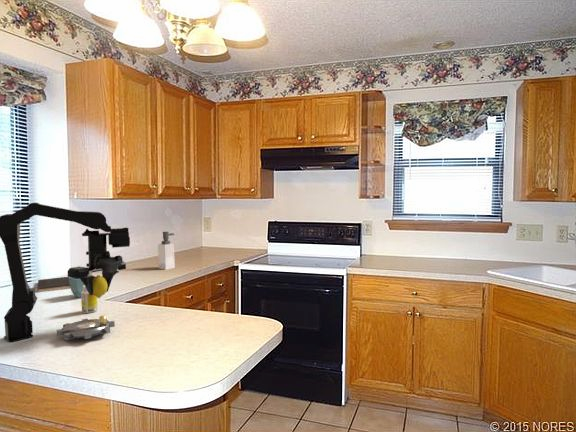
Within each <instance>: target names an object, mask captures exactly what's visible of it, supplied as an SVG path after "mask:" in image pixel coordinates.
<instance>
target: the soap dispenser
mask: <svg viewBox="0 0 576 432" xmlns="http://www.w3.org/2000/svg"><path fill="white" fill-rule="evenodd" d="M174 235H175V233H173V232H172V233H169V231H162V240H161V243H160V244H157V252H158V269H161V270H171V269H175V267H176V266H175V243H171V240H170V239H169V238H170V237H169V236H174Z"/></svg>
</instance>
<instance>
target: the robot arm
mask: <svg viewBox="0 0 576 432" xmlns="http://www.w3.org/2000/svg"><path fill="white" fill-rule="evenodd" d="M35 216H39V217H45V218H51V219H57V220H62V221H66V222H67V221H68V222H74V223H77V224H79V225H82V226H84V227H87V228H86V229H85V230H84V232H83V233H82V234H81V236H82V237H87V246H88V247H87V249H88V251H86V252H85V255H86V256H88V263H86V266H74V267H70V268H68V270H67V277H74V278H80V280H81V281H82V282H83V284H84V285H85V287H86V289H87V291H88V293H89V295H93V279H94V277H95V275H93V273H97V272H101V276H102V277H104V278H105V279H106V281H107V285H108V287H107V291H106V293H108V292H109V289H110V286H111V283H112V280H113V278H114V276H115V275H117V274H119V272H120V271H122V270H126V269H127V264H126V262H125V261H124V260H123V256H122V255H119V254H118V255H115V256H111V253H110V251H109V250H107V249H108V248H107V246H108V245H109V246H111V248H113V249H114V248H126V247H127V248H129V247H130V246H131V238H130V233H129V228H128V227H121V228H120V227H118V228H112V227H111V225H109V224H108V223H107V218H106V216H105V214H103V213H102V212H101V211H87V210H86V211H85V210H81V211H80V210H79V211H78V210H74V209H73V210H72V209H67V208H62V207H56V206H52V205H46V204H41V203H38V202H30V203H29V204H28V205H27V206H24V207H22V208H20V209H18V210H17V211H15V212H13V213H7V214H3V215H0V239H1V241H2V243H3V245H4V250H5V254H6V260H7V266H8V269H9V274H10V280H11V285H12V293H11V294H12V295H11V307H10V308H9V309H8V310H7V311H6V313H5V315H4V316H3V319H4V330H5V331H4V332H5V334H4V336H3V338H4V339H5V340H6V341H7V342H9V343H12V342H17V341H20V340H25V339H30V338H32V337H34V335H33V332H34V331H33V330H34V329H33V321H32V320H31V316H29V314H30V313H31V312H32V311H33V309H34V306H35V305H36V303H37V300H38V296H37V295H36V287H35V286H34V287H30V285H29V283H28V280H27V275H26V270H25V265H24V259H23V253H22V249H21V245H20V236H21V235H20V233H21V224H22V223H23V222H25V221H27V220H29V219H31V218H33V217H35ZM89 229H94V230H89ZM100 230H101V231H102V232H100ZM107 239H108V240H107ZM107 241H108V242H107ZM107 243H108V245H107ZM92 275H93V276H92Z"/></svg>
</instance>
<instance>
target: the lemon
mask: <svg viewBox="0 0 576 432" xmlns="http://www.w3.org/2000/svg"><path fill="white" fill-rule="evenodd" d="M107 287H108V285H107V281H106V279H105V278H104V277H102V275H101V274H98V275H96V277H94V279H93V295H94V296H97V299H100V298H102V296H104V295H105V294H106V293H107V292H106V291H107Z"/></svg>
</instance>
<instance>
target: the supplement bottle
mask: <svg viewBox="0 0 576 432" xmlns="http://www.w3.org/2000/svg"><path fill="white" fill-rule="evenodd" d="M80 299H81V300H80V301H81V312H82V313H83V314H93V313H95V312H97V311H98V309H99V307H98V305H99V304H98V297H97V296H94V295H89V293H88V291H87V289H86V287H85V285H84V286H83V291H82V292H81V298H80Z"/></svg>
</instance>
